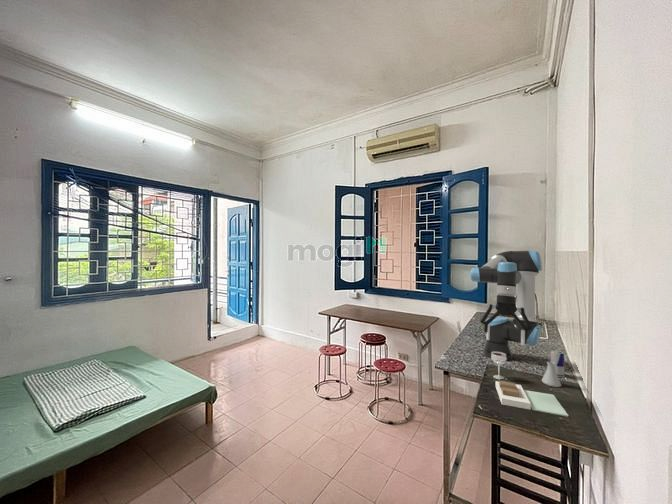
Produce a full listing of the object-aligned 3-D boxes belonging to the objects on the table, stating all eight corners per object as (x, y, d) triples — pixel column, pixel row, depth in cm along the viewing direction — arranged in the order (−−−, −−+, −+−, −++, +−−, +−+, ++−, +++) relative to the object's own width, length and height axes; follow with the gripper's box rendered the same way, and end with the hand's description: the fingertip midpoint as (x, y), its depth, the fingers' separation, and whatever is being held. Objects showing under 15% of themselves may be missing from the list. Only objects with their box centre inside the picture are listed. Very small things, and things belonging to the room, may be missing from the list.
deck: (495, 386, 125) (495, 381, 125) (520, 390, 121) (520, 385, 121) (501, 404, 111) (501, 398, 111) (530, 409, 107) (530, 403, 107)
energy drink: (567, 377, 133) (566, 354, 133) (555, 377, 134) (554, 353, 134) (560, 373, 138) (559, 350, 138) (548, 372, 139) (548, 349, 139)
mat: (522, 390, 121) (522, 389, 121) (553, 395, 117) (553, 394, 117) (532, 410, 106) (532, 408, 106) (568, 416, 102) (568, 415, 102)
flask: (538, 380, 131) (538, 359, 131) (553, 380, 131) (553, 359, 131) (549, 387, 124) (549, 366, 124) (565, 387, 124) (565, 366, 124)
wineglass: (488, 375, 137) (487, 351, 137) (498, 373, 138) (498, 350, 138) (499, 381, 130) (498, 356, 130) (510, 379, 132) (510, 355, 132)
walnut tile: (499, 384, 122) (499, 380, 122) (514, 387, 119) (514, 383, 119) (502, 394, 113) (502, 390, 113) (519, 397, 111) (519, 392, 111)
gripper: (477, 292, 124) (475, 338, 122) (541, 298, 115) (541, 349, 113) (475, 292, 131) (473, 336, 129) (535, 298, 122) (535, 345, 120)
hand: (504, 342), depth 121 cm, fingers open, 13 cm apart
